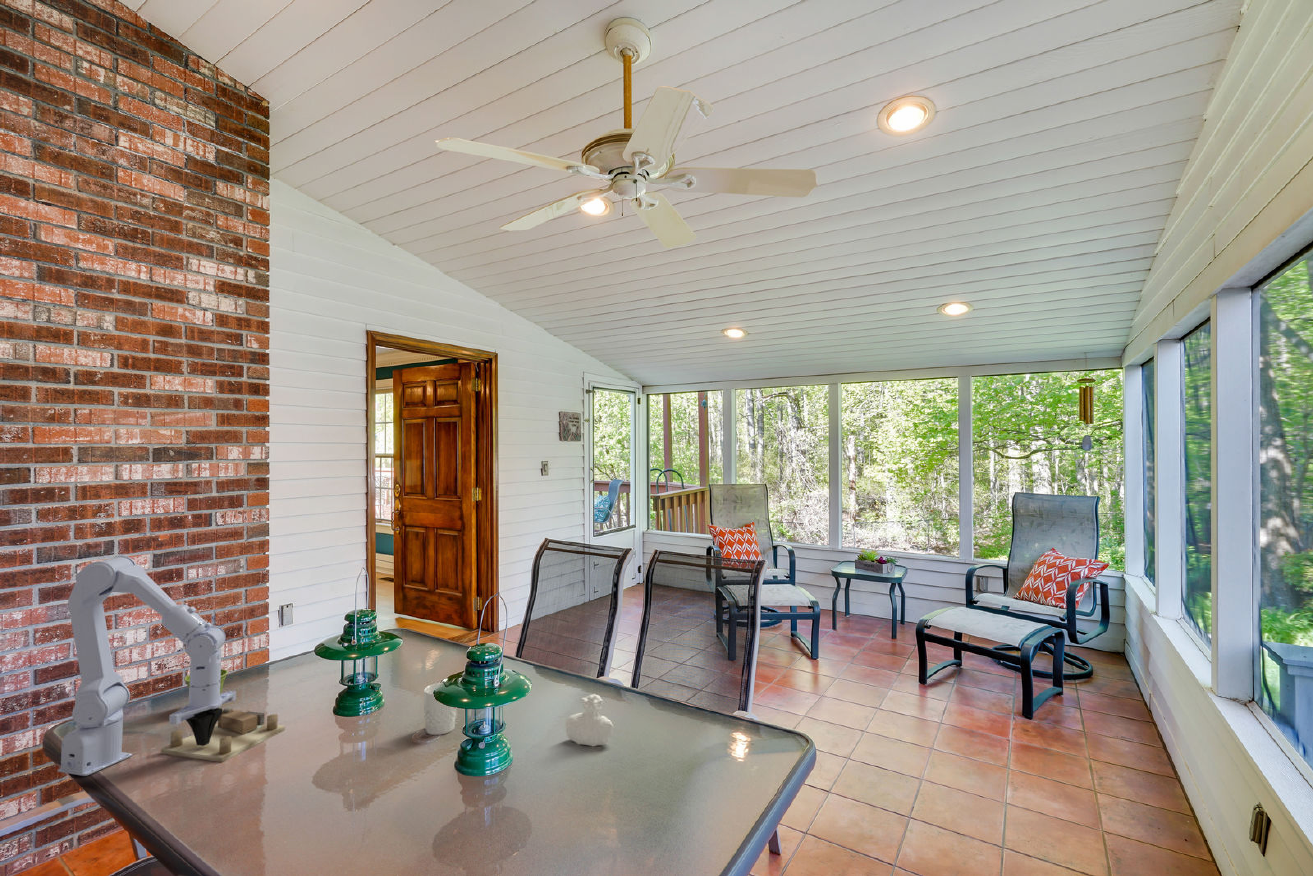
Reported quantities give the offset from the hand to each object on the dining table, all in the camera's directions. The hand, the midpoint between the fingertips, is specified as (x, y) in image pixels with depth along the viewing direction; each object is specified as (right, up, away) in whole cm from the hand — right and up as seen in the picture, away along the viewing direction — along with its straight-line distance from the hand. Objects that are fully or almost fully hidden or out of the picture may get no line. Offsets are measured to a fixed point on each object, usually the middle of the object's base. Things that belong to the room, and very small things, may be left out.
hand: (202, 744), depth 141 cm
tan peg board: (+1, -2, +6) cm, 6 cm away
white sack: (+87, -3, +7) cm, 87 cm away
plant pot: (-18, -3, +25) cm, 31 cm away
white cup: (+49, -3, +13) cm, 51 cm away
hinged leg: (0, -1, +10) cm, 10 cm away
